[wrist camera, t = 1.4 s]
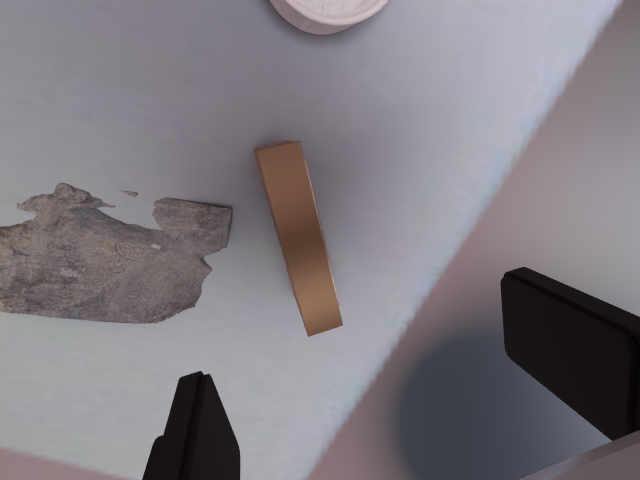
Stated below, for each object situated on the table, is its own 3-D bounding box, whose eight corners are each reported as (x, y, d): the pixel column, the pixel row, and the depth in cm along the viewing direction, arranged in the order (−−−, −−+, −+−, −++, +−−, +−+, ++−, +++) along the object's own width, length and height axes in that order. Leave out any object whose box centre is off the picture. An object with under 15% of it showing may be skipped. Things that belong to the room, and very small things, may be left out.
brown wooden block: (253, 148, 25) (256, 151, 18) (288, 140, 25) (303, 140, 19) (294, 294, 28) (308, 336, 22) (323, 285, 29) (345, 324, 23)
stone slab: (232, 202, 24) (218, 331, 26) (233, 199, 26) (220, 321, 28) (-83, 160, 20) (-73, 317, 22) (-56, 160, 22) (-49, 306, 24)
